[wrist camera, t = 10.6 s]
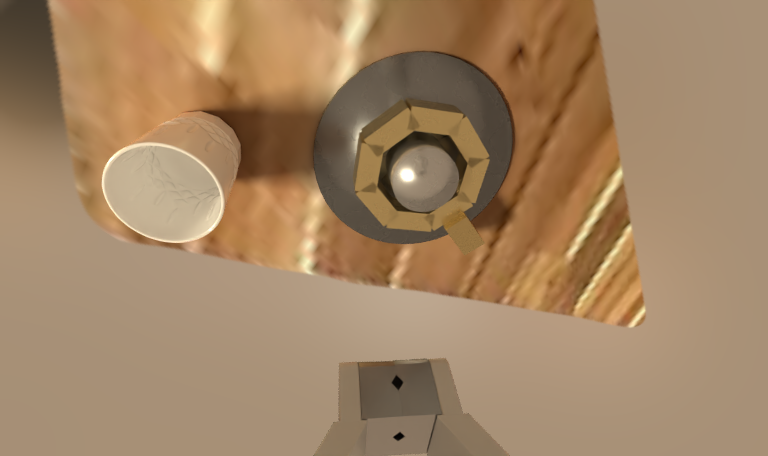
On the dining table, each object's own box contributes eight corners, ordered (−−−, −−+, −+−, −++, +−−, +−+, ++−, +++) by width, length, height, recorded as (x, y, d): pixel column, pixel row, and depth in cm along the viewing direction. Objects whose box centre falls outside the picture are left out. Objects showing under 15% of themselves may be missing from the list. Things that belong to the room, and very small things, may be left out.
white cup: (266, 148, 36) (247, 196, 28) (213, 200, 38) (182, 260, 30) (191, 84, 32) (144, 117, 24) (138, 146, 35) (78, 196, 26)
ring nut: (329, 152, 36) (330, 169, 33) (436, 72, 34) (448, 82, 30) (418, 256, 44) (425, 279, 41) (510, 199, 42) (526, 217, 38)
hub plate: (315, 39, 32) (313, 48, 27) (537, 63, 35) (568, 74, 31) (312, 240, 42) (310, 270, 38) (483, 243, 45) (501, 272, 41)
